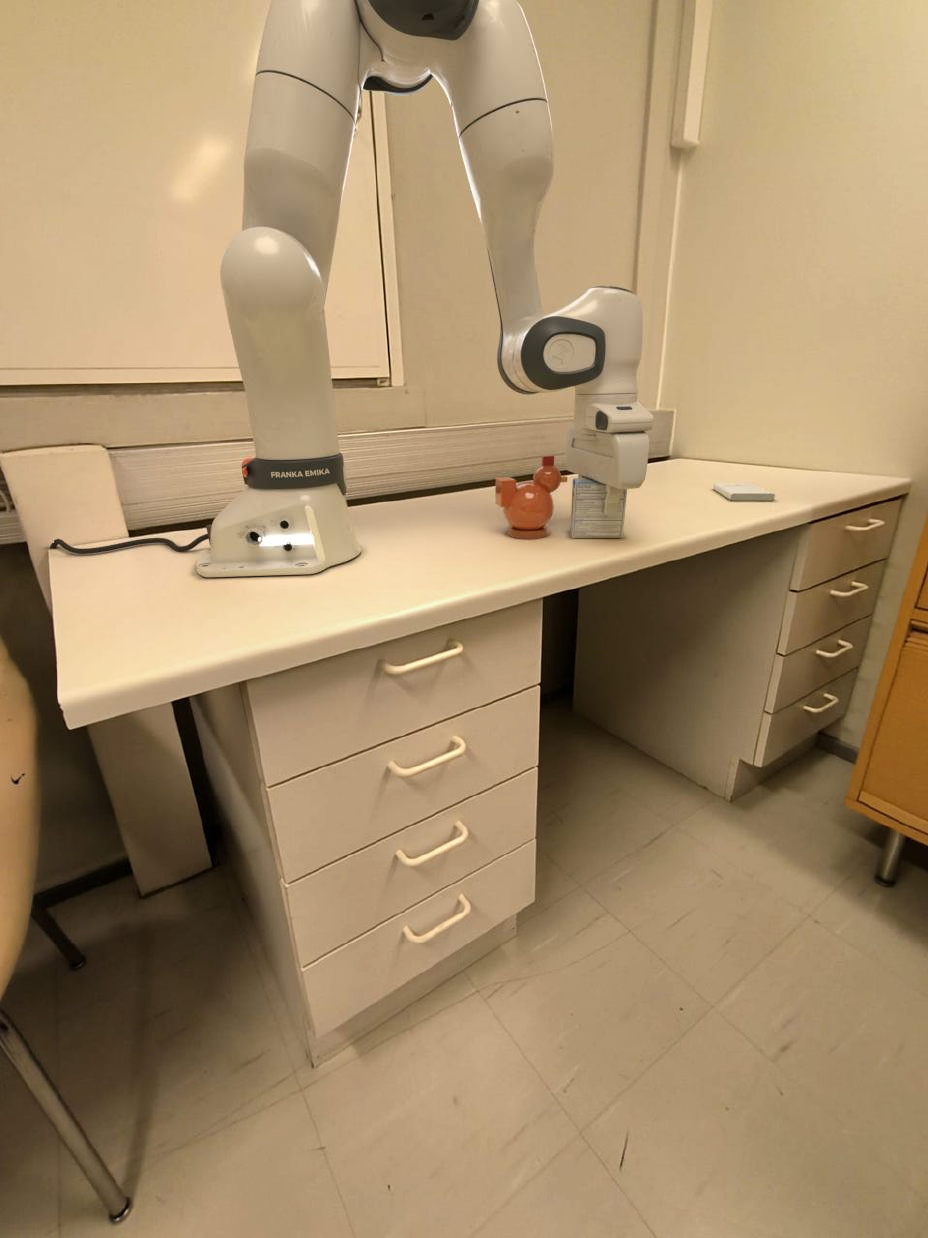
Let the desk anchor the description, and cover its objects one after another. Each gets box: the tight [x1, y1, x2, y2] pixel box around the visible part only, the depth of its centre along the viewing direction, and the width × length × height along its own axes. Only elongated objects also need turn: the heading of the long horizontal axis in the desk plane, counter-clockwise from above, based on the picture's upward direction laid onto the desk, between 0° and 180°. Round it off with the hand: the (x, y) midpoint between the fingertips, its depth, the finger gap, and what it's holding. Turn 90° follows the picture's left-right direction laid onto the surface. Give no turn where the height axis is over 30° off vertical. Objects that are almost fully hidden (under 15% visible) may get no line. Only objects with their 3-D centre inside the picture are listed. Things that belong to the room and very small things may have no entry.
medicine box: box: [569, 477, 628, 539], centre depth 88 cm, size 8×4×9 cm, turn 84°
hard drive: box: [712, 482, 776, 502], centre depth 116 cm, size 2×8×12 cm
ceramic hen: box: [494, 454, 568, 540], centre depth 89 cm, size 11×8×12 cm
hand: (597, 508), depth 88 cm, fingers open, 6 cm apart
